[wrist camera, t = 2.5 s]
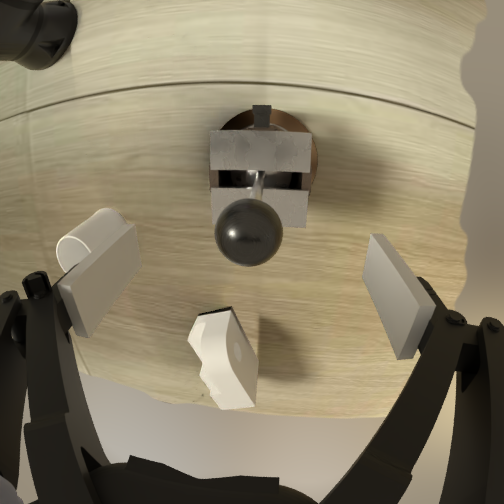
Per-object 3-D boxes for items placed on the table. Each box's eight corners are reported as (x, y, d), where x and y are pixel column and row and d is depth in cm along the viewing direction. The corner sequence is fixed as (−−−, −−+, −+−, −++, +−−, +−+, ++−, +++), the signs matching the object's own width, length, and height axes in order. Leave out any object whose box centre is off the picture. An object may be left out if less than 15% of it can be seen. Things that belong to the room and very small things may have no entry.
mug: (145, 213, 47) (113, 243, 37) (145, 257, 51) (117, 293, 41) (90, 204, 47) (51, 230, 37) (93, 245, 51) (59, 276, 40)
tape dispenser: (258, 360, 61) (255, 406, 50) (215, 367, 63) (206, 411, 52) (232, 305, 55) (222, 353, 44) (184, 316, 57) (166, 361, 46)
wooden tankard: (224, 108, 38) (203, 105, 27) (305, 110, 38) (318, 107, 26) (225, 197, 45) (207, 229, 33) (300, 199, 44) (310, 232, 32)
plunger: (231, 141, 33) (174, 179, 14) (292, 143, 32) (320, 183, 14) (231, 199, 36) (186, 298, 17) (290, 201, 35) (306, 304, 17)
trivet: (210, 108, 39) (209, 108, 39) (319, 111, 38) (320, 111, 38) (212, 208, 46) (211, 210, 46) (313, 212, 45) (313, 213, 45)
